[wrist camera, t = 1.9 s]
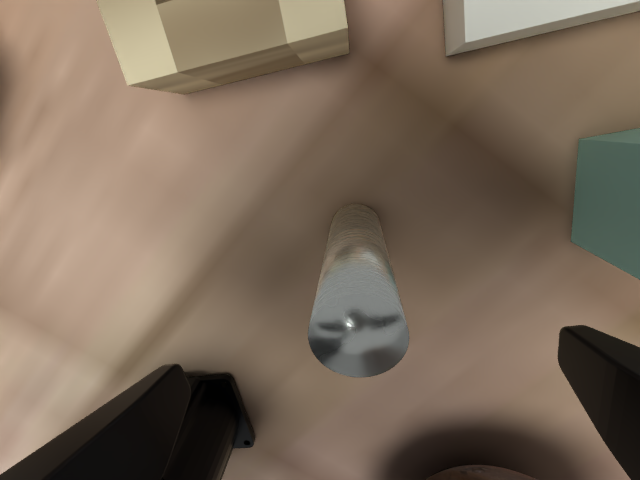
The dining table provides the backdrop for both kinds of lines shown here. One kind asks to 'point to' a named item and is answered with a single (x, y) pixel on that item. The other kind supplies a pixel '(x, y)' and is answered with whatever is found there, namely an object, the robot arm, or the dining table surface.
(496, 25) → the tray
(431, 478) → the wooden sphere
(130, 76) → the hollow square frame
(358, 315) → the rod
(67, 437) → the robot arm
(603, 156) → the block
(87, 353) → the dining table surface
